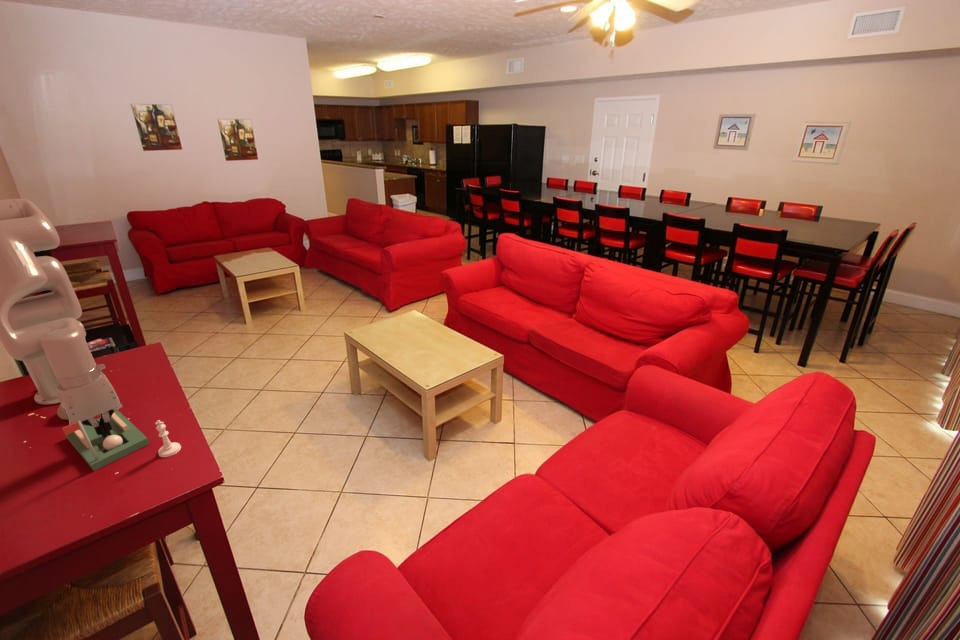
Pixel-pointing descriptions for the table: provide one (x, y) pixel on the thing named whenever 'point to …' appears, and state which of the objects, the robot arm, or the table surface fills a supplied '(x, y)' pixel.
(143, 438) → the mat
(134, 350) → the table surface
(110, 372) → the table surface
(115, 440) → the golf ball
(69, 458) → the table surface
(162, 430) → the chess piece
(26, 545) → the table surface
